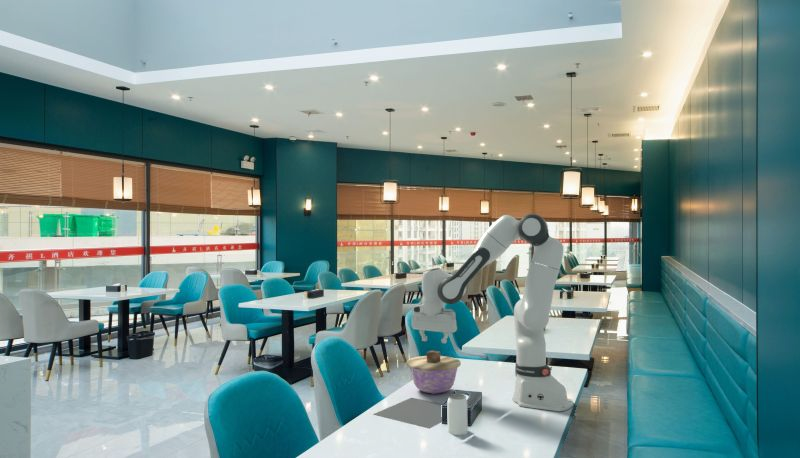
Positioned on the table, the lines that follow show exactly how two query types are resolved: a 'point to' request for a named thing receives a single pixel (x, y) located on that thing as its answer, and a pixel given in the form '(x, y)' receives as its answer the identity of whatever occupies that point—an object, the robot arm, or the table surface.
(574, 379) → the table surface
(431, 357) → the oak bowl cover
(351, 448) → the table surface
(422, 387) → the bowl of food
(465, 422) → the can
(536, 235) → the robot arm
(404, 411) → the rubber mat
